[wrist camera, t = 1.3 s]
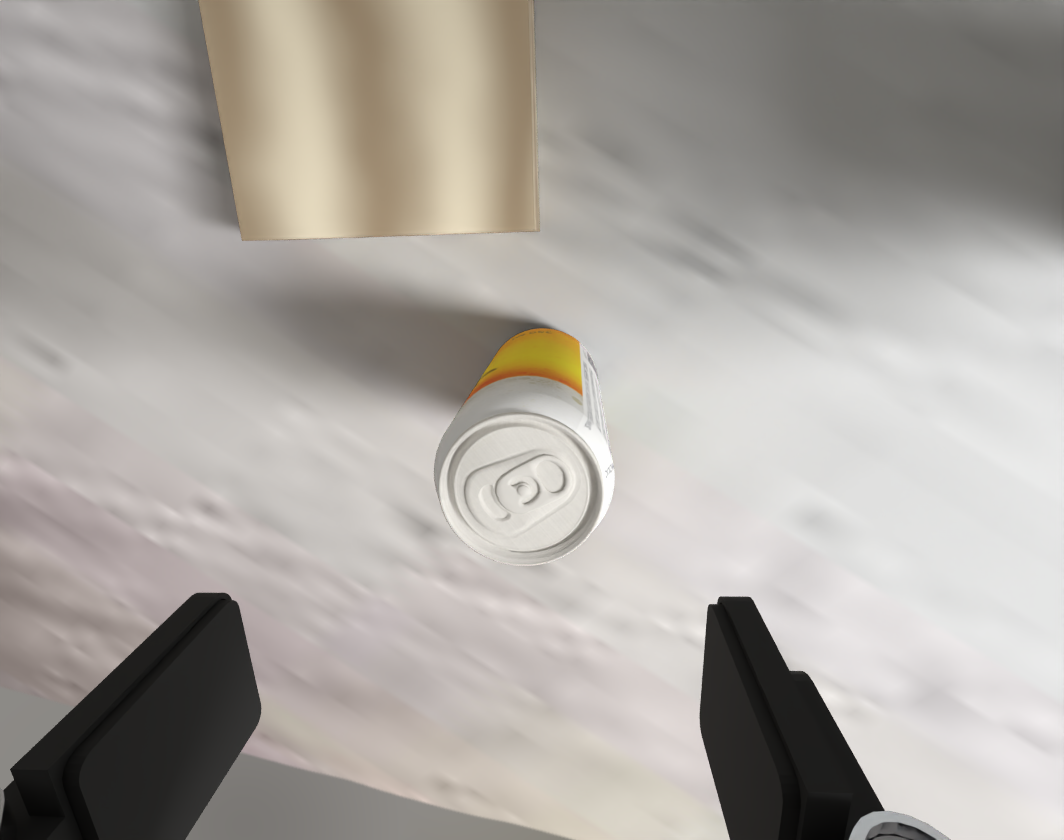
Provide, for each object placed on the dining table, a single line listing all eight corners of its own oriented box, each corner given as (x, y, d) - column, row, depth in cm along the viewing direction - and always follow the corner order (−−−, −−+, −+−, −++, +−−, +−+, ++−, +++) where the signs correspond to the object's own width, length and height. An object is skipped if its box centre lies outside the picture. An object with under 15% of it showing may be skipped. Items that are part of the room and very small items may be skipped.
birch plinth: (531, -98, 25) (523, -157, 21) (539, 231, 30) (534, 230, 26) (232, -75, 26) (175, -127, 23) (282, 240, 31) (241, 240, 27)
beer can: (470, 359, 32) (388, 457, 18) (564, 305, 31) (557, 365, 16) (524, 446, 33) (488, 603, 19) (616, 399, 32) (650, 529, 18)
